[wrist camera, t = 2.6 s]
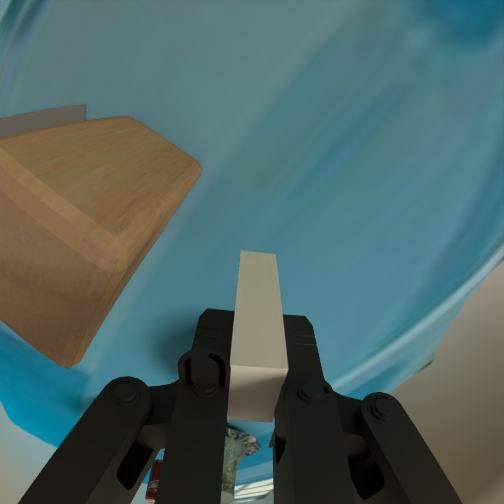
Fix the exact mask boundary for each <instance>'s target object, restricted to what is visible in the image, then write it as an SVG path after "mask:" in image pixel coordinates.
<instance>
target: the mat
mask: <svg viewBox="0 0 504 504" xmlns="http://www.w3.org/2000/svg"><path fill="white" fill-rule="evenodd" d="M85 111H86V105H78V106H70V107H62V108H55V109H49V110H43V111H37V112H32V113H26V114H21V115H16V116H12V117H7V118H3V119H0V138H1V137H5V136H9V135H13V134H17V133H22V132H26V131H31V130H35V129H40V128H45V127H50V126H56V125H62V124H68V123H74V122H81V121H85Z"/></svg>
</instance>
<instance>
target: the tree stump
mask: <svg viewBox="0 0 504 504" xmlns="http://www.w3.org/2000/svg"><path fill="white" fill-rule="evenodd" d="M259 448H260V444H259V443H258V441H257V439H256V438H255V437H253V436H251V435H249V434H247V433H245V432H242V431H238V430H235V429H232V428H229V427H227V426H226V437H225V450H224V463H223V476H222V490H221V504H228V503H230V502H232V501H233V500H234V486H235V477H236V469H237V465H238V463H239V462H240V461H241V460H242V459H243V458H245V457H246V456H249V455H251V454H253V453H254V452H255V451H258V450H259Z"/></svg>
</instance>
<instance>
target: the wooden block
mask: <svg viewBox="0 0 504 504" xmlns="http://www.w3.org/2000/svg"><path fill="white" fill-rule="evenodd" d="M201 171H202V167H201V165H200V164H199V162H198V161H197V160H196V159H194V158H193V157H191V156H190V155H188V154H187V153H185V152H184V151H182V150H181V149H180V148H178V147H177V146H175V145H174V144H172V143H171V142H169V141H168V140H166V139H165V138H163V137H162V136H160V135H159V134H157V133H156V132H154V131H153V130H151V129H150V128H148V127H147V126H145V125H144V124H142V123H141V122H139V121H138V120H136V119H134V118H133V117H127V116H123V117H113V118H104V119H96V120H88V121H81V122H74V123H68V124H62V125H56V126H50V127H45V128H40V129H35V130H31V131H26V132H22V133H17V134H13V135H9V136H5V137H1V138H0V320H1V321H2V322H4V323H5V324H6V325H7V326H8V327H9V328H11V329H12V330H13V331H14V332H15V333H17V334H18V335H19V336H20V337H21V338H23V339H24V340H25V341H26V342H28V343H29V344H30V345H32V346H33V347H34V348H36V349H37V350H38V351H40V352H41V353H42V354H44V355H45V356H46V357H48V358H49V359H51V360H52V361H53V362H55V363H56V364H58V365H59V366H62V367H65V368H68V369H69V368H71V367H72V366H74V365H75V364H77V363H79V362H80V361H81V359H82V357H83V356H84V354H85V352H86V350H87V349H88V347H89V345H90V343H91V342H92V340H93V338H94V336H95V335H96V333H97V331H98V330H99V328H100V326H101V325H102V323H103V321H104V320H105V318H106V316H107V315H108V313H109V312H110V310H111V308H112V307H113V305H114V304H115V302H116V300H117V299H118V297H119V296H120V294H121V293H122V291H123V289H124V288H125V286H126V285H127V283H128V282H129V280H130V279H131V277H132V276H133V274H134V273H135V271H136V270H137V268H138V267H139V265H140V264H141V262H142V261H143V259H144V258H145V256H146V255H147V253H148V252H149V251H150V249H151V248H152V246H153V245H154V243H155V242H156V241H157V239H158V238H159V236H160V235H161V233H162V232H163V230H164V228H165V227H166V225H167V224H168V222H169V221H170V219H171V218H172V216H173V215H174V213H175V212H176V210H177V209H178V207H179V206H180V204H181V203H182V201H183V200H184V198H185V197H186V195H187V194H188V192H189V191H190V190H191V188H192V187H193V185H194V184H195V182H196V181H197V179H198V178H199V177H200V175H201Z"/></svg>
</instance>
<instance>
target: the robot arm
mask: <svg viewBox="0 0 504 504" xmlns="http://www.w3.org/2000/svg"><path fill="white" fill-rule="evenodd" d="M316 345H317V344H316V339H315V335H314V330H313V326H312V324H311V323H310V322H309V320H308V319H307V318H306V317H305V316H298V315H284V314H282V306H281V297H280V288H279V280H278V271H277V263H276V255H275V254H269V253H259V252H249V251H241V256H240V266H239V276H238V285H237V295H236V305H235V311H227V310H218V309H209V308H207V309H206V310H205V311H204V312H203V313H202V315H201V316H200V317H199V321H198V325H197V329H196V333H195V337H194V341H193V345H192V349H191V350H190V351H188V352H186V353H185V354H184V355H182V356H181V358H180V360H179V361H178V373H179V380H177V381H175V382H173V383H171V384H167V385H161V386H151V387H147V385H146V384H145V383H144V382H143V381H141V380H140V379H138V378H134V377H130V376H127V377H119V378H116V379H114V380H112V381H111V382H109V383H108V384H107V385H106V386H105V387H104V389H103V390H102V391H101V392H100V394H99V395H98V396H97V398H96V399H95V400H94V401H93V403H92V404H91V405H90V407H89V408H88V409H87V410H86V412H85V413H84V414H83V416H82V417H81V418H80V420H79V421H78V422H77V423H76V425H75V426H74V427H73V429H72V430H71V431H70V433H69V434H68V435H67V437H66V438H65V439H64V441H63V442H62V443H61V445H60V446H59V447H58V449H57V450H56V452H55V453H54V454H53V456H52V457H51V458H50V459H49V461H48V462H47V464H46V465H45V466H44V468H43V469H42V470H41V472H40V473H39V475H38V476H37V477H36V479H35V480H34V482H33V483H32V484H31V486H30V487H29V489H28V490H27V491H26V493H25V494H24V496H23V497H22V498H21V500H20V501H19V503H18V504H130V503H131V501H132V500H133V498H134V496H135V494H136V492H137V491H138V489H139V487H140V485H141V483H142V482H143V480H144V478H145V476H146V474H147V472H148V471H149V469H150V467H151V465H152V463H153V462H154V460H155V458H156V456H157V454H158V452H159V451H160V449H162V448H165V451H164V456H163V461H162V466H161V471H160V476H159V481H158V486H157V492H156V497H155V503H154V504H221V490H222V476H223V463H224V450H225V437H226V424H227V419H229V420H241V421H256V422H273V419H274V416H275V429H274V432H273V434H272V437H271V440H270V444H269V447H272V446H273V484H274V504H462V502H461V500H460V498H459V497H458V495H457V493H456V492H455V490H454V488H453V487H452V485H451V483H450V482H449V480H448V478H447V477H446V475H445V474H444V472H443V470H442V468H441V467H440V465H439V464H438V462H437V460H436V459H435V457H434V455H433V454H432V452H431V451H430V449H429V447H428V446H427V444H426V443H425V441H424V439H423V438H422V436H421V435H420V433H419V432H418V430H417V428H416V427H415V426H414V424H413V422H412V421H411V419H410V418H409V416H408V415H407V413H406V412H405V410H404V409H403V407H402V406H401V404H400V403H399V402H398V401H397V399H396V398H394V397H393V396H391V395H389V394H387V393H382V392H376V393H371V394H369V395H367V396H366V397H365V398H364V399H363V400H358V399H354V398H350V397H346V396H343V395H340V394H338V393H336V392H335V391H333V389H332V387H331V386H330V385H329V384H328V383H327V382H326V381H325V379H324V376H323V372H322V367H321V362H320V357H319V353H318V348H317V346H316Z"/></svg>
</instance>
